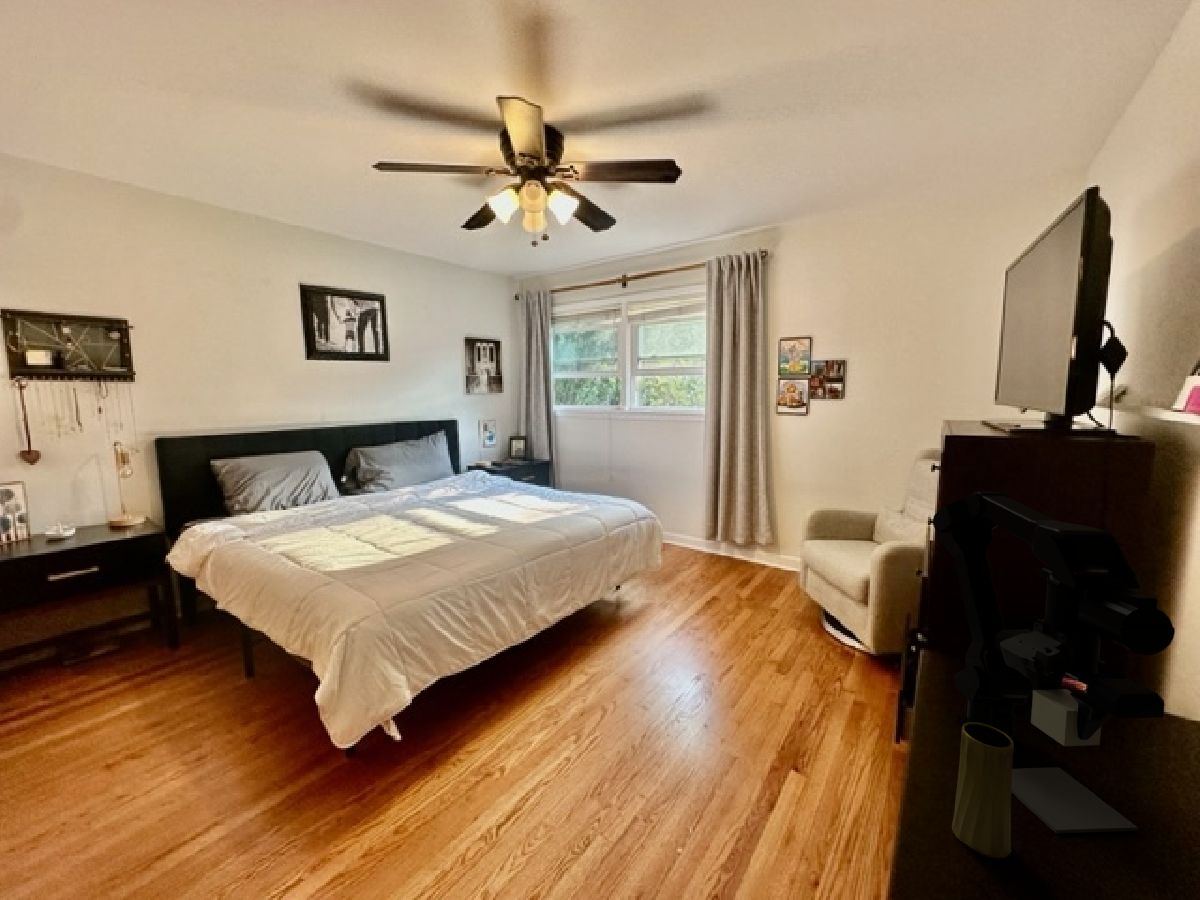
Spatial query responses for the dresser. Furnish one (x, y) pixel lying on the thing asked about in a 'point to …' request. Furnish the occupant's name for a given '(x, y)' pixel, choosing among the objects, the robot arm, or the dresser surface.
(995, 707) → the robot arm
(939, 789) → the dresser surface
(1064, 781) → the mat
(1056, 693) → the cube
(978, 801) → the vase
